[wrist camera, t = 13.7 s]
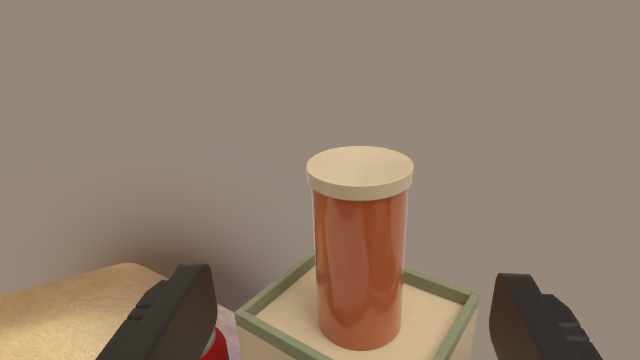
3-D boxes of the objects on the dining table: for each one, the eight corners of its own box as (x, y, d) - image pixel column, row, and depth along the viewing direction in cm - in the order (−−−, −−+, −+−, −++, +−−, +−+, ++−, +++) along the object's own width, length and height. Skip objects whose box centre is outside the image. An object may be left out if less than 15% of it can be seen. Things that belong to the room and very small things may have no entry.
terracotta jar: (420, 312, 26) (432, 157, 22) (373, 370, 22) (376, 196, 18) (348, 279, 29) (346, 139, 25) (296, 325, 26) (284, 169, 21)
